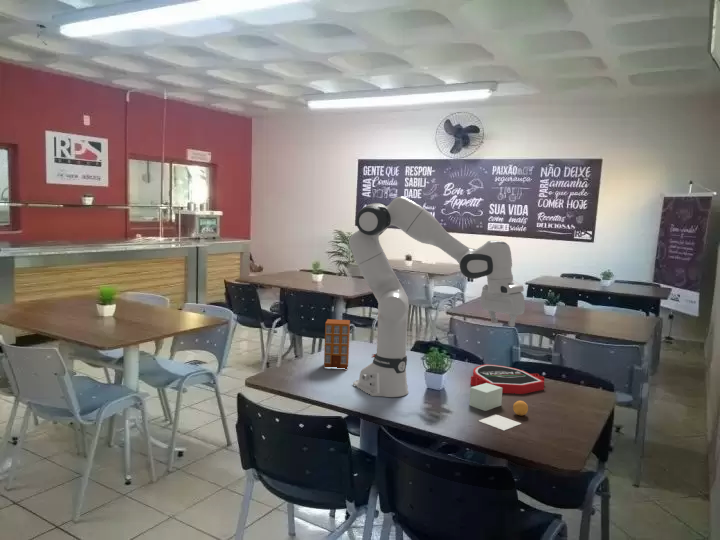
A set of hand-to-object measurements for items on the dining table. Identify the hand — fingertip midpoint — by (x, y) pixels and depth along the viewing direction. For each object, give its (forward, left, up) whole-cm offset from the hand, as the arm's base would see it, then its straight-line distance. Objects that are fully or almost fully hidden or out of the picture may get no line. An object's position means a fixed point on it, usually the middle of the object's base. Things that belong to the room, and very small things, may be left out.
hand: (503, 324), depth 199 cm
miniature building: (-71, -18, -30) cm, 79 cm away
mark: (+10, -14, -30) cm, 34 cm away
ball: (+10, -2, -27) cm, 29 cm away
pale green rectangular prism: (-3, -4, -30) cm, 30 cm away
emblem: (-16, +26, -30) cm, 43 cm away
